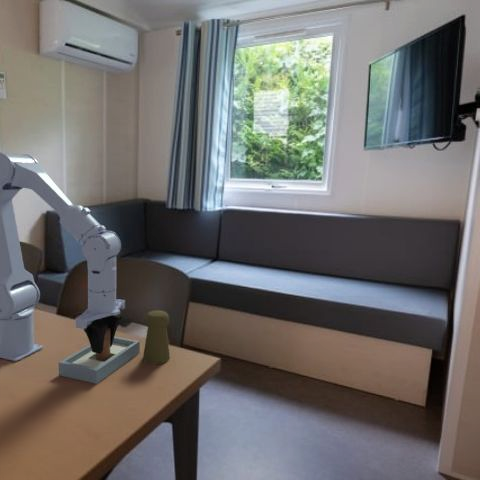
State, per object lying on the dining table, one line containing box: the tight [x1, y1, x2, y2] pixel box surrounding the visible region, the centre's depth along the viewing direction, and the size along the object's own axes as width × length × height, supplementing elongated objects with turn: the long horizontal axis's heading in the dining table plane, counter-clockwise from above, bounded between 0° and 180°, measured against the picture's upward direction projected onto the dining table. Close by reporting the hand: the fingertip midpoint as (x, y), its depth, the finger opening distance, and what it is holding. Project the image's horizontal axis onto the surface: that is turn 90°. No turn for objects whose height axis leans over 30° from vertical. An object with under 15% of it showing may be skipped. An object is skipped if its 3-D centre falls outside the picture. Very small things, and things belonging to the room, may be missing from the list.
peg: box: [96, 328, 110, 362], centre depth 91 cm, size 3×3×7 cm
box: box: [58, 336, 141, 385], centre depth 91 cm, size 9×16×3 cm, turn 162°
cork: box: [142, 309, 171, 365], centre depth 94 cm, size 6×6×11 cm
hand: (102, 349), depth 91 cm, fingers closed on peg, 3 cm apart
